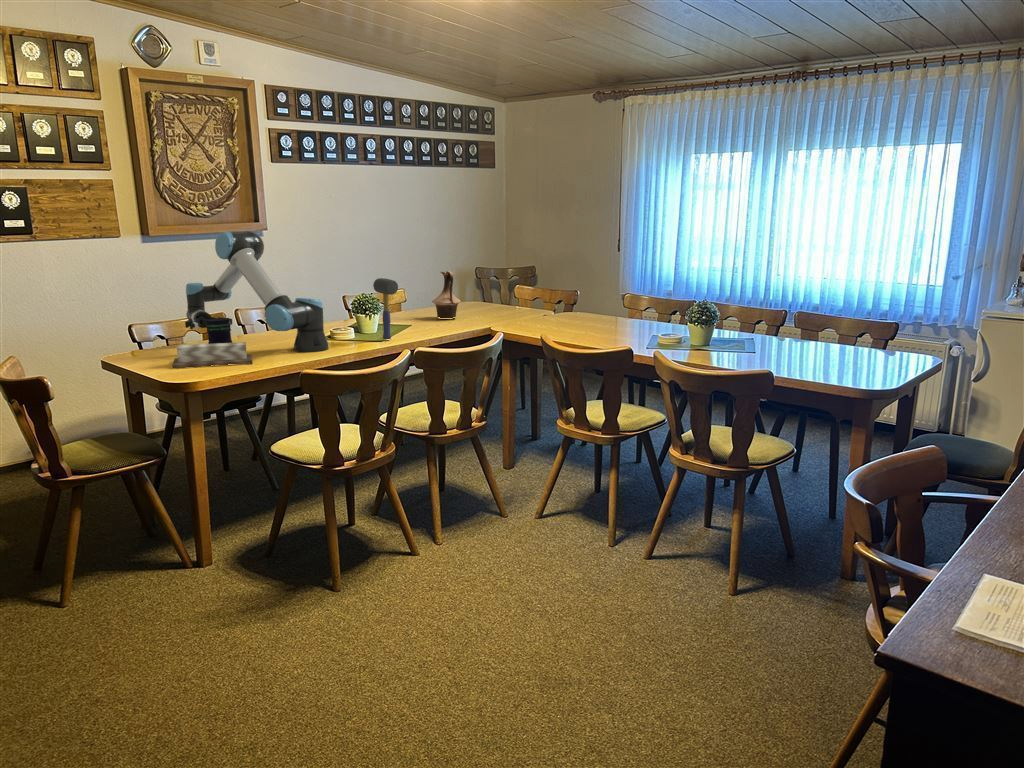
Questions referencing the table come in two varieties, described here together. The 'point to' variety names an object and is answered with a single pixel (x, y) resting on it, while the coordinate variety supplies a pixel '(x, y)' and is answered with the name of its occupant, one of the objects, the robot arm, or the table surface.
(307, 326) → the robot arm
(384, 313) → the rubber mallet
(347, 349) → the table surface
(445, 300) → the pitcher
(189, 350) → the ridge stand
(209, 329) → the storage jar
